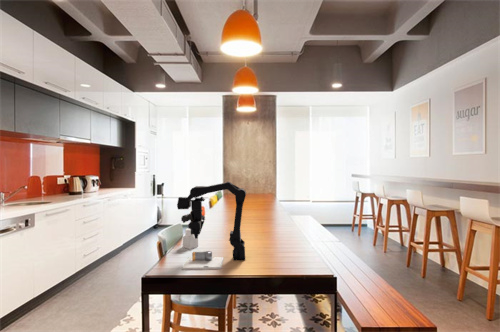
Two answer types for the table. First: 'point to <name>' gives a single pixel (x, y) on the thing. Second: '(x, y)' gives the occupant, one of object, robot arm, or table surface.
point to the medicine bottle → (189, 239)
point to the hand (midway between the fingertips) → (197, 236)
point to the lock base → (203, 264)
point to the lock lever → (202, 256)
